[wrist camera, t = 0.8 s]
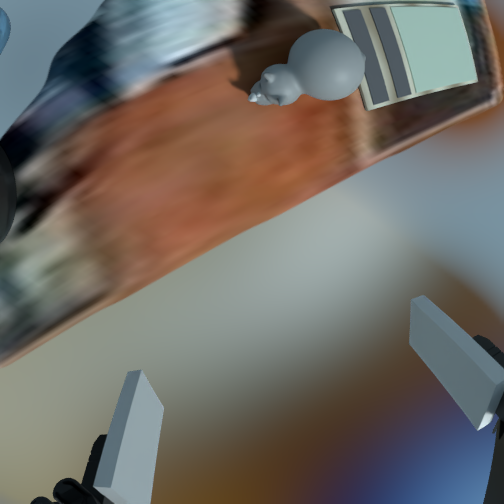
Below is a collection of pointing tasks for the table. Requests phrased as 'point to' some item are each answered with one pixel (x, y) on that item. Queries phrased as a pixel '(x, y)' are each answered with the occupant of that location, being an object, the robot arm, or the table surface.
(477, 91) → the table surface
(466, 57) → the pad
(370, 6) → the board
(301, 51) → the chubby cartoon animal
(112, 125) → the table surface
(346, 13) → the dark gray parallel strips
